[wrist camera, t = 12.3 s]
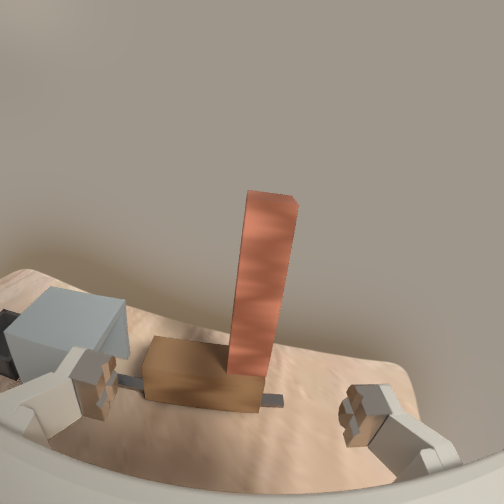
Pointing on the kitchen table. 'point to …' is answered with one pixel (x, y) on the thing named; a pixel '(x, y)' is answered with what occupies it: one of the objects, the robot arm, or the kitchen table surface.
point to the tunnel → (66, 330)
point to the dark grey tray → (3, 360)
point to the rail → (138, 385)
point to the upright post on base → (233, 322)
